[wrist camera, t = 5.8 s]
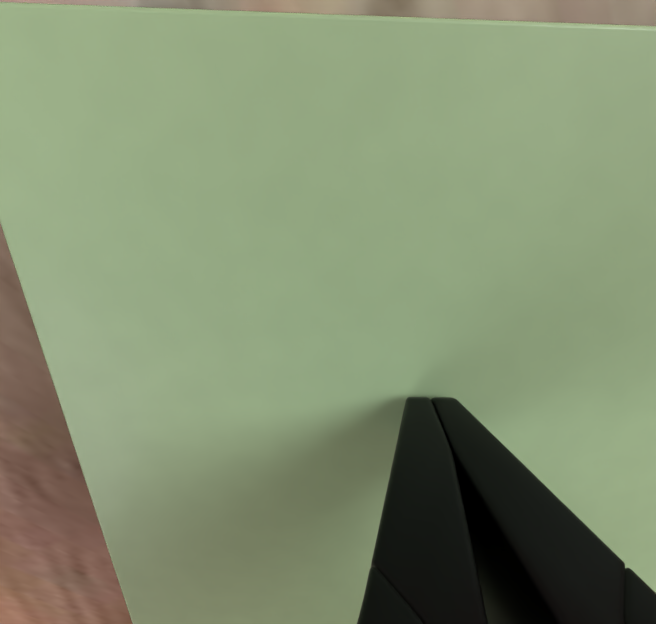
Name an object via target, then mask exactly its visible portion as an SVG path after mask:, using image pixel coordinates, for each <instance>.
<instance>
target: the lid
mask: <svg viewBox="0 0 656 624" xmlns="http://www.w3.org/2000/svg"><path fill="white" fill-rule="evenodd" d="M0 223H1V226H2V230H3V233H4V236H5V239H6V242H7V245H8V248H9V251H10V254H11V257H12V260H13V263H14V266H15V269H16V272H17V275H18V278H19V281H20V284H21V287H22V290H23V293H24V296H25V299H26V302H27V305H28V308H29V311H30V314H31V317H32V320H33V323H34V326H35V329H36V332H37V335H38V339H39V342H40V345H41V348H42V351H43V354H44V357H45V360H46V363H47V366H48V369H49V372H50V375H51V378H52V381H53V384H54V387H55V390H56V393H57V396H58V399H59V402H60V405H61V408H62V411H63V414H64V417H65V420H66V423H67V426H68V429H69V432H70V435H71V438H72V441H73V445H74V448H75V451H76V454H77V457H78V460H79V463H80V466H81V469H82V472H83V475H84V478H85V481H86V484H87V487H88V490H89V493H90V496H91V499H92V502H93V505H94V508H95V511H96V514H97V517H98V520H99V523H100V526H101V529H102V532H103V535H104V538H105V541H106V544H107V547H108V550H109V554H110V557H111V560H112V563H113V566H114V569H115V572H116V575H117V578H118V581H119V584H120V587H121V590H122V593H123V596H124V599H125V602H126V605H127V608H128V611H129V614H130V617H131V620H132V623H133V624H357V622H358V618H359V614H360V610H361V606H362V602H363V598H364V593H365V589H366V584H367V579H368V575H369V570H370V568H371V562H372V557H373V552H374V548H375V543H376V538H377V534H378V529H379V524H380V519H381V515H382V510H383V505H384V500H385V496H386V491H387V486H388V482H389V477H390V472H391V467H392V463H393V458H394V453H395V449H396V444H397V439H398V434H399V430H400V425H401V420H402V415H403V411H404V406H405V401H406V399H407V398H408V397H428V398H429V399H432V398H434V397H452V398H455V399H457V400H458V401H459V402H460V403H461V404H462V405H463V406H464V407H465V408H466V409H467V410H468V411H469V412H470V413H471V414H472V415H473V416H474V417H476V418H477V419H478V420H479V421H480V422H481V423H482V424H483V425H484V426H485V427H486V428H487V429H488V430H489V431H490V432H491V433H492V434H493V435H494V436H495V437H496V438H497V439H498V440H499V441H500V442H501V443H502V444H503V445H504V446H505V447H506V448H507V449H508V450H509V451H510V452H511V453H512V454H513V455H514V456H516V457H517V458H518V459H519V460H520V461H521V462H522V463H523V464H524V465H525V466H526V467H527V468H528V469H529V470H530V471H531V472H532V473H533V474H534V475H535V476H536V477H537V478H538V479H539V480H540V481H541V482H542V483H543V484H544V485H545V486H546V487H547V488H548V489H549V490H550V491H551V492H552V493H553V494H554V495H556V496H557V497H558V498H559V499H560V500H561V501H562V502H563V503H564V504H565V505H566V506H567V507H568V508H569V509H570V510H571V511H572V512H573V513H574V514H575V515H576V516H577V517H578V518H579V519H580V520H581V521H582V522H583V523H584V524H585V525H586V526H587V527H588V528H589V529H590V530H591V531H592V532H593V533H594V534H596V535H597V536H598V537H599V538H600V539H601V540H602V541H603V542H604V543H605V544H606V545H607V546H608V547H609V548H610V549H611V550H612V551H613V552H614V553H615V554H616V555H617V556H618V557H619V558H620V559H621V560H622V561H623V562H624V563H625V568H630V569H632V570H633V571H634V572H635V573H636V574H637V575H638V576H639V577H640V578H641V579H642V580H643V581H644V582H645V583H646V584H647V585H648V586H649V587H650V588H651V589H652V590H653V591H654V592H655V593H656V26H638V25H611V24H584V23H557V22H529V21H502V20H475V19H448V18H421V17H393V16H366V15H339V14H312V13H284V12H257V11H230V10H203V9H176V8H148V7H121V6H94V5H67V4H40V3H12V2H0Z"/></svg>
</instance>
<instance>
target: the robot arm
mask: <svg viewBox="0 0 656 624" xmlns="http://www.w3.org/2000/svg"><path fill="white" fill-rule="evenodd" d="M357 624H656V593H655V592H654V591H653V590H652V589H651V588H650V587H649V586H648V585H647V584H646V583H645V582H644V581H643V580H642V579H641V578H640V577H639V576H638V575H637V574H636V573H635V572H634V571H633V570H632V569H630V568H625V563H624V562H623V561H622V560H621V559H620V558H619V557H618V556H617V555H616V554H615V553H614V552H613V551H612V550H611V549H610V548H609V547H608V546H607V545H606V544H605V543H604V542H603V541H602V540H601V539H600V538H599V537H598V536H597V535H596V534H594V533H593V532H592V531H591V530H590V529H589V528H588V527H587V526H586V525H585V524H584V523H583V522H582V521H581V520H580V519H579V518H578V517H577V516H576V515H575V514H574V513H573V512H572V511H571V510H570V509H569V508H568V507H567V506H566V505H565V504H564V503H563V502H562V501H561V500H560V499H559V498H558V497H557V496H556V495H554V494H553V493H552V492H551V491H550V490H549V489H548V488H547V487H546V486H545V485H544V484H543V483H542V482H541V481H540V480H539V479H538V478H537V477H536V476H535V475H534V474H533V473H532V472H531V471H530V470H529V469H528V468H527V467H526V466H525V465H524V464H523V463H522V462H521V461H520V460H519V459H518V458H517V457H516V456H514V455H513V454H512V453H511V452H510V451H509V450H508V449H507V448H506V447H505V446H504V445H503V444H502V443H501V442H500V441H499V440H498V439H497V438H496V437H495V436H494V435H493V434H492V433H491V432H490V431H489V430H488V429H487V428H486V427H485V426H484V425H483V424H482V423H481V422H480V421H479V420H478V419H477V418H476V417H474V416H473V415H472V414H471V413H470V412H469V411H468V410H467V409H466V408H465V407H464V406H463V405H462V404H461V403H460V402H459V401H458V400H457V399H455V398H452V397H434V398H432V399H429V398H428V397H408V398H407V399H406V401H405V406H404V411H403V415H402V420H401V425H400V430H399V434H398V439H397V444H396V449H395V453H394V458H393V463H392V467H391V472H390V477H389V482H388V486H387V491H386V496H385V500H384V505H383V510H382V515H381V519H380V524H379V529H378V534H377V538H376V543H375V548H374V552H373V557H372V562H371V568H370V570H369V575H368V579H367V584H366V589H365V593H364V598H363V602H362V606H361V610H360V614H359V618H358V622H357Z"/></svg>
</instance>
